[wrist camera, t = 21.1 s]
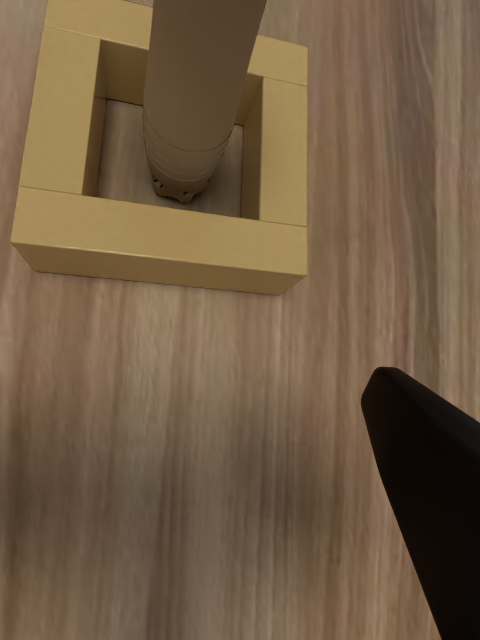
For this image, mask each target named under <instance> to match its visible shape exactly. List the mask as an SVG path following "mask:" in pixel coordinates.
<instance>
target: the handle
mask: <svg viewBox="0 0 480 640" xmlns="http://www.w3.org/2000/svg"><path fill="white" fill-rule="evenodd" d="M266 1H267V0H154V2H153V13H152V24H151V34H150V43H149V52H148V61H147V70H146V79H145V88H144V97H143V100H144V101H143V129H144V142H145V150H146V156H147V160H148V164H149V167H150V169H151V171H152V173H153V178H152V182H153V187H154V189H155V191H156V192H157V193H158V194H159V195H161V196H170V197H174V198H176V199H178V200H179V201H180V202H182V203H186V202H189V201H190V200H191V199H192V196H193V195H194V194H196V193H197V192H202V191H203V190H204V189H205V188H206V186H207V184H208V182H209V180H210V176H211V175H212V174H213V172H214V170H215V169H216V167H217V165H218V163H219V161H220V159H221V157H222V155H223V153H224V151H225V149H226V146H227V143H228V141H229V138H230V135H231V132H232V129H233V126H234V122H235V119H236V115H237V111H238V107H239V103H240V99H241V95H242V91H243V87H244V83H245V79H246V75H247V71H248V67H249V63H250V59H251V55H252V52H253V48H254V44H255V41H256V37H257V34H258V30H259V26H260V23H261V19H262V15H263V12H264V8H265V5H266Z"/></svg>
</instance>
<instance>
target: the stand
mask: <svg viewBox="0 0 480 640" xmlns="http://www.w3.org/2000/svg"><path fill="white" fill-rule="evenodd" d="M152 13H153V8H152V7H148V6H144V5H140V4H136V3H132V2H128V1H124V0H48V1H47V8H46V14H45V20H44V27H43V32H42V39H41V45H40V51H39V58H38V64H37V71H36V77H35V83H34V90H33V96H32V103H31V109H30V115H29V122H28V128H27V135H26V141H25V147H24V154H23V160H22V167H21V173H20V179H19V188H18V194H17V201H16V207H15V213H14V220H13V226H12V233H11V239H10V241H11V243H12V244H13V245H14V247H15V248H16V249H17V250H18V252H19V253H20V254H21V255H22V256H23V258H24V259H25V260H26V261H27V262H28V264H29V265H30V266H31V267H32V269H33V270H34V271H40V272H51V273H61V274H71V275H81V276H91V277H101V278H111V279H121V280H131V281H141V282H151V283H161V284H171V285H181V286H191V287H201V288H211V289H222V290H232V291H242V292H252V293H262V294H272V295H281V294H282V293H283V292H285V291H286V290H288V289H289V288H290V287H292V286H293V285H294V284H296V283H297V282H299V281H300V280H301V279H303V278H304V277H306V276H307V86H308V48H307V47H305V46H301V45H297V44H293V43H289V42H286V41H282V40H278V39H274V38H270V37H266V36H262V35H258V34H257V37H256V41H255V44H254V48H253V52H252V55H251V59H250V63H249V67H248V71H247V75H246V79H245V83H244V87H243V91H242V95H241V99H240V103H239V107H238V111H237V115H236V119H235V122H234V123H235V124H240V125H244V142H243V170H242V198H241V218H237V217H230V216H223V215H216V214H209V213H202V212H195V211H188V210H181V209H174V208H167V207H160V206H153V205H146V204H139V203H132V202H125V201H118V200H111V199H104V198H97V197H96V189H97V181H98V172H99V163H100V154H101V145H102V137H103V128H104V119H105V110H106V102H107V98H108V99H114V100H119V101H124V102H129V103H134V104H139V105H143V101H144V100H143V97H144V88H145V79H146V70H147V61H148V52H149V43H150V34H151V24H152Z"/></svg>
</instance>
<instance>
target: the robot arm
mask: <svg viewBox="0 0 480 640" xmlns="http://www.w3.org/2000/svg"><path fill="white" fill-rule="evenodd" d="M361 407H362V411H363V415H364V419H365V422H366V426H367V430H368V434H369V437H370V441H371V445H372V449H373V452H374V456H375V460H376V464H377V467H378V470H379V474H380V477H381V479H382V482H383V485H384V488H385V491H386V493H387V496H388V498H389V501H390V504H391V506H392V509H393V512H394V514H395V517H396V520H397V522H398V525H399V528H400V530H401V533H402V536H403V538H404V541H405V544H406V546H407V549H408V552H409V554H410V557H411V559H412V562H413V565H414V567H415V570H416V573H417V575H418V578H419V581H420V583H421V586H422V589H423V591H424V594H425V597H426V599H427V602H428V605H429V607H430V610H431V613H432V615H433V618H434V620H435V623H436V626H437V628H438V631H439V634H440V636H441V639H442V640H480V423H479V422H478V421H476V420H475V419H473V418H472V417H470V416H469V415H467V414H466V413H464V412H463V411H461V410H460V409H458V408H457V407H455V406H454V405H452V404H451V403H449V402H448V401H446V400H445V399H443V398H442V397H440V396H439V395H437V394H436V393H434V392H433V391H431V390H430V389H428V388H427V387H425V386H424V385H422V384H421V383H419V382H418V381H416V380H415V379H413V378H412V377H410V376H409V375H407V374H406V373H404V372H403V371H401V370H400V369H398V368H394V367H378V368H376V369H375V370H374V372H373V374H372V376H371V378H370V380H369V382H368V384H367V386H366V388H365V390H364V392H363V394H362V398H361Z"/></svg>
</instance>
